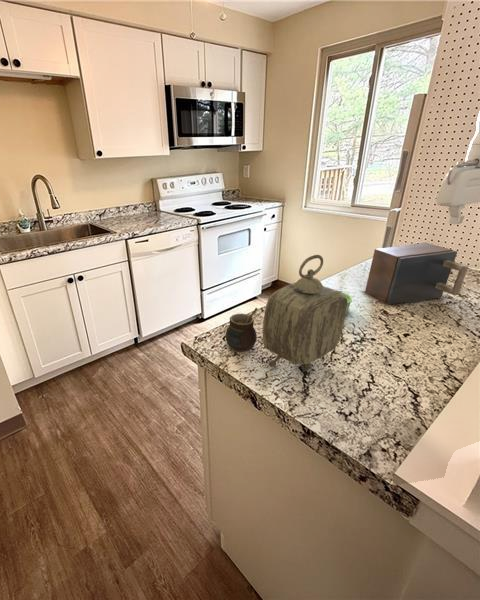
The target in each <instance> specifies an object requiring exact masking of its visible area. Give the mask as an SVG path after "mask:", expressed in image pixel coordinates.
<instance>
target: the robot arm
mask: <svg viewBox="0 0 480 600" xmlns="http://www.w3.org/2000/svg"><path fill="white" fill-rule="evenodd" d="M476 120H477V121H476V131H475V134H474V136H473V138H472V139H471V141H470V144H469V146H468V150H467V153H466V157H465V159H464V161H463V160H462V161H458V162H457V163H455V165H453V166H452V167H451V168H450V169H449V170H448V173H446V175H445V176H444V178H443V180H442V182H441V184H440V187H439V190H438V192H437V195H436V199H435V202H436V205H438V206H439V207H440V206H441V207H448V212H449V216H450V218H449V220H448V223H449V224H451V225H460V224H462V223H463V221H464V218H465V215H462V210H464V208H465V206H466V205H470V204H477V203H480V112H479V113H478V117H477V119H476Z"/></svg>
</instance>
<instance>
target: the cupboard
mask: <svg viewBox="0 0 480 600" xmlns="http://www.w3.org/2000/svg"><path fill="white" fill-rule="evenodd" d="M448 251H454V249H451V248H447V247H444V246H440V245H436V244H433V243H429V242H420V243H413V244H405V245H396V246H388V247H380V248H374V250H373V256H372V260H371V264H370V268H369V273H368V275H367V276H368V277H367V281H366V285H365V289H364V293H365V294H367V295H369V296H370V297H373V298H375V299H376V300H378V301H380V302H382V303H384V304H387V299H388V295H389V291H390V288H391V284H392V280H393V277H394V273H395V269H396V266H397V262H398V258H401V257H408V256H416V255H424V254H432V253H440V252H448Z"/></svg>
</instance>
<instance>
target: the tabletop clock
mask: <svg viewBox="0 0 480 600" xmlns="http://www.w3.org/2000/svg"><path fill="white" fill-rule="evenodd" d="M315 259H319V261H320V263H319V266H318V267H317V268H316V269H315V270H314V269H308V270H307V273H306V274H303V268H304V267H305V266H306V265H307V264H308V263H310V261H312V260H315ZM323 266H324V258H323V256H322V255H320V254H314V255H310V256H308V257H307V258H305V259H304V261H302V263H301V265H300V267H299V270H298V275H299V276H300V278H298V280H297V281H296V282H293V283H289V284H287V285H285V286H282V287H281V288H279V289H277V290H275V291H274V292H273V293H271V295H269V297H268V299H267V302H266V304H265V305H266V306H265V309H264V315H263V322H262V345H263V347H264V349H266V350H267V351H270V352H271V353H273V354H275V355H276V357H275V358H274V359H270V360H269V361H268V362H267V364H268V366H269V367H270V368H275V367H276V365H277V362H278V361H279V360H280V359H281V358H282V359H284V360H286V361H288V362H289V363H291V364H292V365H302V366H303V368H304V369H306V370H311V368H312V363H314V362H315V361H317V360H320V359H321V358H323V357H324V356H326V355H328V354H329V353H331V352H332V351H333V350H334V349H335V348H336V347H337V346H338V345H339V342H340V339H341V337H342V333H343V330H344V329H343V328H344V326H345V320H346V315H347V313H346V310H347V298H346V297H345V296H344V295H343V293H344V292H343V293H342V291H340V290H338V289H335V288H330V287H329V286H325V285H323V283H322V282H321V281H320V280H319V279H318V278H317V277H314V276H315V275H317V274H318V273H319V272H320V271H321V269H322V268H323Z"/></svg>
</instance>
